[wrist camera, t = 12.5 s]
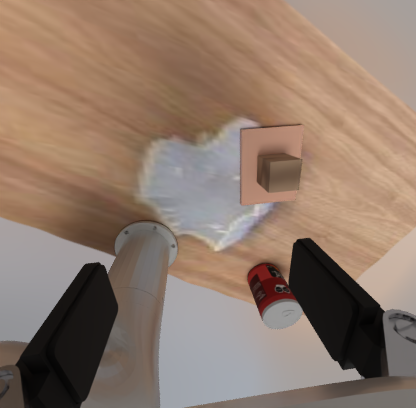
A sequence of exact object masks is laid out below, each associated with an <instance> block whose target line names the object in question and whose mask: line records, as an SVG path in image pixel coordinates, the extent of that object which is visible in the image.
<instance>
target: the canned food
mask: <svg viewBox="0 0 416 408" xmlns="http://www.w3.org/2000/svg"><path fill="white" fill-rule="evenodd" d="M248 284H249V286H250V289H251V292H252V294H253V297H254V300H255V302H256V305H257V308H258V310H259V313H260V316H261V318H262V321H263V322H264V324H265V325H266V326H267V327H269V328H272V329H283V328H286V327H289V326H291V325H293V324H294V323H296V322H297V321H298V320H299V319H300V317H301V316H302V311H303V310H302V308H301V307H300V305H299V303H298V302H297V300H296V298H295V297H294V295H293V294H292V292H291V290H290V288H289V286H288V284H287V282H286V281H285V279H284V277H283V276H282V274H281V273H280V271H279V269H278V268H276V267H275V266H274V265H272V264H260V265H258V266H256V267H254V268H253V269H252V270H251V271H250V272H249V274H248Z"/></svg>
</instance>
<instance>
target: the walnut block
mask: <svg viewBox="0 0 416 408" xmlns="http://www.w3.org/2000/svg"><path fill="white" fill-rule="evenodd" d="M301 166H302V159H300V158H297V157H294V156H291V155H288V154H286V153H281V154H269V155H258V157H257V183H258V184H259V185H260V186H261V187H263V188H264V189H265V190H266V191H267V192H268V193H275V192H285V191H294V190H299V183H300V174H301Z"/></svg>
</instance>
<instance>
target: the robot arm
mask: <svg viewBox="0 0 416 408" xmlns="http://www.w3.org/2000/svg"><path fill="white" fill-rule="evenodd" d="M155 226H156V227H155ZM114 249H115V254H116V256H117V257H116V259H115V260H114V262H113V264H112V266H111V268H110V270H109V272H108V274H107V271H106V268H105V266H104V265H101V264H100V263H99V262H97V263H88V264H85V265H84V266H83V267H82V269H81V270H80V272H79V273H78V274H77V276H76V277H75V279H74V280H73V282H72V283H71V284H70V286H69V287H68V289H67V290H66V292H65V293H64V294H63V296H62V297H61V299H60V300H59V301H58V303H57V304H56V306H55V307H54V309H53V310H52V312H51V313H50V314H49V316H48V317H47V319H46V320H45V321H44V323H43V324H42V326H41V327H40V329H39V330H38V331H37V333H36V334H35V336H34V337H33V339H32V340H31V341H30V343H26V342H18V341H0V408H160V392H159V371H158V370H159V368H158V358H159V356H158V355H159V339H160V329H161V321H162V313H163V305H164V297H165V289H166V281H167V273H168V267H169V266H171V264H172V263H173V262H174V260H175V259H176V256H177V252H178V244H177V240H176V238H175V236H174V234H173V233H172V232H171V231H170V230H169V229H168V228H167V227H165V226H163V225H161V224H159V223H156V222H152V221H139V222H135V223H132V224H130V225H128V226H126V227H125V228H124V229H123V230H122V231H121V232H120V233H119V235H118V237H117V238H116V241H115V248H114ZM289 288H290V290H291V292H292V294H293V295H294V297H295V298H296V300H297V302H298V303H299V305H300V307H301V308H302V310H303V312H304V313H305V315H306V316H307V318H308V320H309V321H310V323H311V325H312V326H313V328H314V329H315V331H316V333H317V335H318V336H319V338H320V339H321V341H322V342H323V344H324V346H325V348H326V349H327V351H328V352H329V354H330V356H331V357H332V359H333V360H334V361H338V363H339V364H340V366H341V368H342V369H343V370H346V369H353V368H356V370H357V371H358V373H359V374H360V375H361V380H354V381H346V382H340V383H332V384H326V385H319V386H314V387H307V388H301V389H295V390H289V391H283V392H276V393H270V394H263V395H258V396H251V397H246V398H240V399H233V400H227V401H221V402H215V403H209V404H203V405H198V406H192V407H186V408H416V316H415V315H413V314H411V313H408V312H405V311H401V310H394V309H392V310H387V311H386V312H385V311H384V310H383V309H382V308H381V307H380V305H379V304H378V303H377V302H376V301H375V300H374V299H373V298H372V297H371V296H370V295H369V294H368V293H367V292H366V291H365V290H364V289H363V288H362V287H361V286H359V284H357V283H356V282H355V281H354V280H353V279H352V278H351V277H350V276H349V275H348V274H347V273H346V272H345V271H344V270H343V269H342V268H341V267H340V266H339V265H338V264H337V263H336V262H335V261H334V260H333V259H331V258H330V257H329V256H328V255H327V254H326V253H325V252H324V251H323V250H322V249H321V248H320V247H319V246H318V245H317V244H316V243H315V242H314V241H313V240H312V239H310V238H304V239H298V240H297V241H296V242H295V243H294V244H293V250H292V258H291V266H290V274H289Z"/></svg>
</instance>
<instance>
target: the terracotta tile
mask: <svg viewBox="0 0 416 408" xmlns="http://www.w3.org/2000/svg"><path fill="white" fill-rule="evenodd" d="M303 132H304V125H293V126H280V127H267V128H254V129H241V130H240V204H241V205H251V204H260V203H270V202H280V201H290V200H296V191H297V190H294V191H285V192H275V193H268V192H267V191H266V190H265V189H264V188H263V187H261V186H260V185H259V184H258V183H257V157H258V155H269V154H281V153H286V154H288V155H291V156H294V157H297V158H300V157H301V149H302V140H303Z"/></svg>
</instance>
